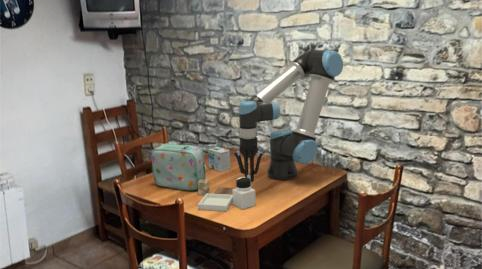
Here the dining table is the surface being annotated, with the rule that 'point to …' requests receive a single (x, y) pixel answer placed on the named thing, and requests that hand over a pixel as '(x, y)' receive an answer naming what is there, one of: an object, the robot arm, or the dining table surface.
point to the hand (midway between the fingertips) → (249, 188)
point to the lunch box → (178, 166)
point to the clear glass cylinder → (203, 187)
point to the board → (224, 190)
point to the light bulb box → (219, 159)
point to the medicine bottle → (243, 193)
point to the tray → (215, 202)
